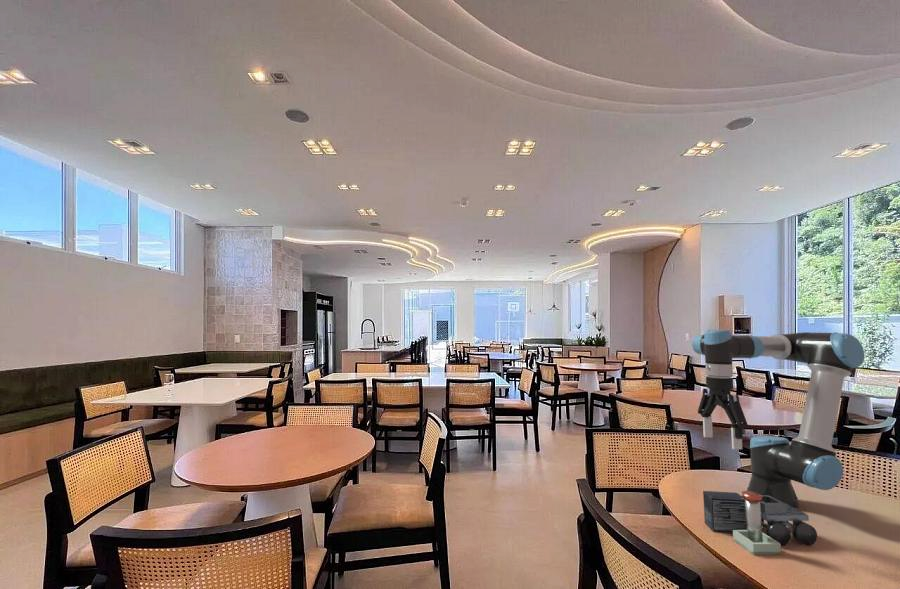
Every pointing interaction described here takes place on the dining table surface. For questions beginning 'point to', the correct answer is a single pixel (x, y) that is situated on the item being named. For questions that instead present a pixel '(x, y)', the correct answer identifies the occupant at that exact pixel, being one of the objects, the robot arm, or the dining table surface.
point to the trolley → (785, 522)
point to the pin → (753, 516)
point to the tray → (757, 544)
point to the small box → (724, 511)
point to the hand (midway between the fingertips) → (722, 442)
